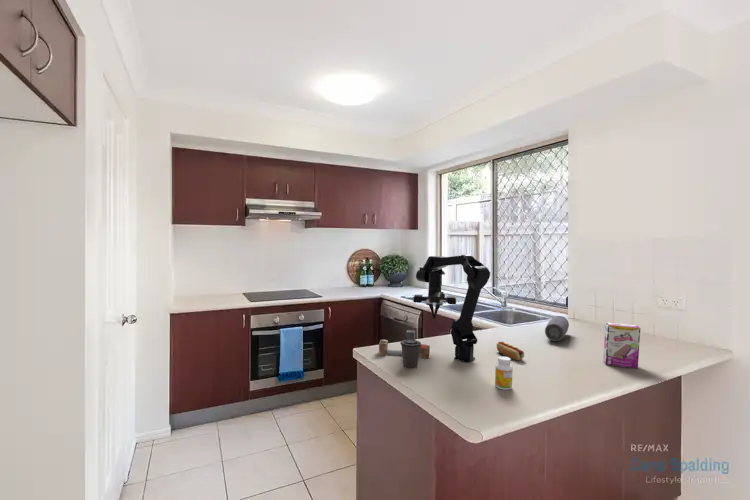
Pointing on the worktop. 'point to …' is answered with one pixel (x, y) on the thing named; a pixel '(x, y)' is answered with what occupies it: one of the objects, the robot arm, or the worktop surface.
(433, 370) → the worktop surface
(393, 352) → the handrail
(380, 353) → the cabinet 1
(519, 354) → the food
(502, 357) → the supplement bottle
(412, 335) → the plate
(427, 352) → the cabinet
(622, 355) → the candy bar box
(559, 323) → the bluetooth speaker
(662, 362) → the worktop surface
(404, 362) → the coffee cup
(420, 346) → the gauge button
